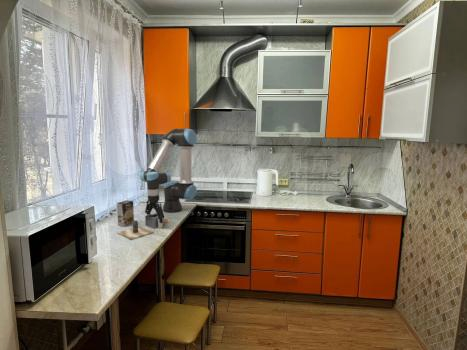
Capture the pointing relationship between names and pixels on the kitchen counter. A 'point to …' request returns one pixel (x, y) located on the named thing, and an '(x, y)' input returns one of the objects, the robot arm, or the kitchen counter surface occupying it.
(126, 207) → the coffee box
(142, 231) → the post board
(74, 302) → the kitchen counter surface
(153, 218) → the square sleeve with handle
